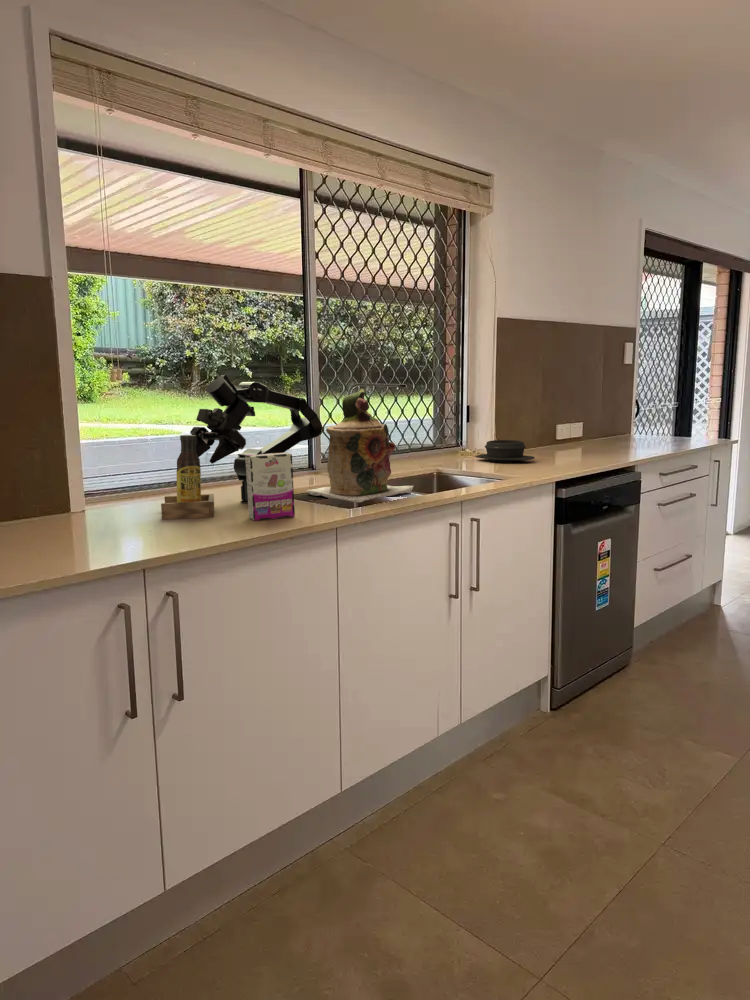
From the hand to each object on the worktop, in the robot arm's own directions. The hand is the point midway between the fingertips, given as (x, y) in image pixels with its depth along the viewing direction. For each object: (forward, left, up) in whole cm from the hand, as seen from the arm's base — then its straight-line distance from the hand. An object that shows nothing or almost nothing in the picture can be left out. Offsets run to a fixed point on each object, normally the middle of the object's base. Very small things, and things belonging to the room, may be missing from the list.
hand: (200, 461), depth 189 cm
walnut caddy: (+2, +4, -13) cm, 14 cm away
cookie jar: (-34, -35, -14) cm, 51 cm away
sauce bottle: (+2, +4, -13) cm, 13 cm away
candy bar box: (-22, +5, -14) cm, 26 cm away
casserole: (-71, -127, -14) cm, 146 cm away
